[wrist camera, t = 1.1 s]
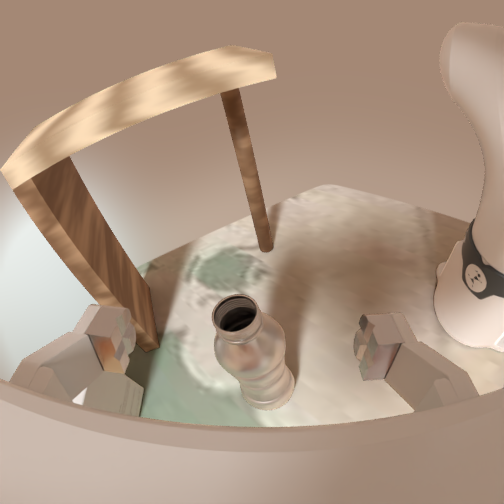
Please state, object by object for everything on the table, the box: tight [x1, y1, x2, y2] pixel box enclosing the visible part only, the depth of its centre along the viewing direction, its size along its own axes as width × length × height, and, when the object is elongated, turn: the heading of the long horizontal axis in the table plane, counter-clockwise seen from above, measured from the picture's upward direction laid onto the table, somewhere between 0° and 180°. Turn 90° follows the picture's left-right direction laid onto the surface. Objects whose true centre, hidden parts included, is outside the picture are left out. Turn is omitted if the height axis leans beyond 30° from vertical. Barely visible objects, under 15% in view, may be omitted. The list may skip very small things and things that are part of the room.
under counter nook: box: [1, 45, 276, 352], centre depth 39 cm, size 27×13×34 cm, turn 110°
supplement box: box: [72, 371, 144, 417], centre depth 34 cm, size 7×7×13 cm
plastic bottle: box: [212, 294, 295, 410], centre depth 30 cm, size 6×7×20 cm
